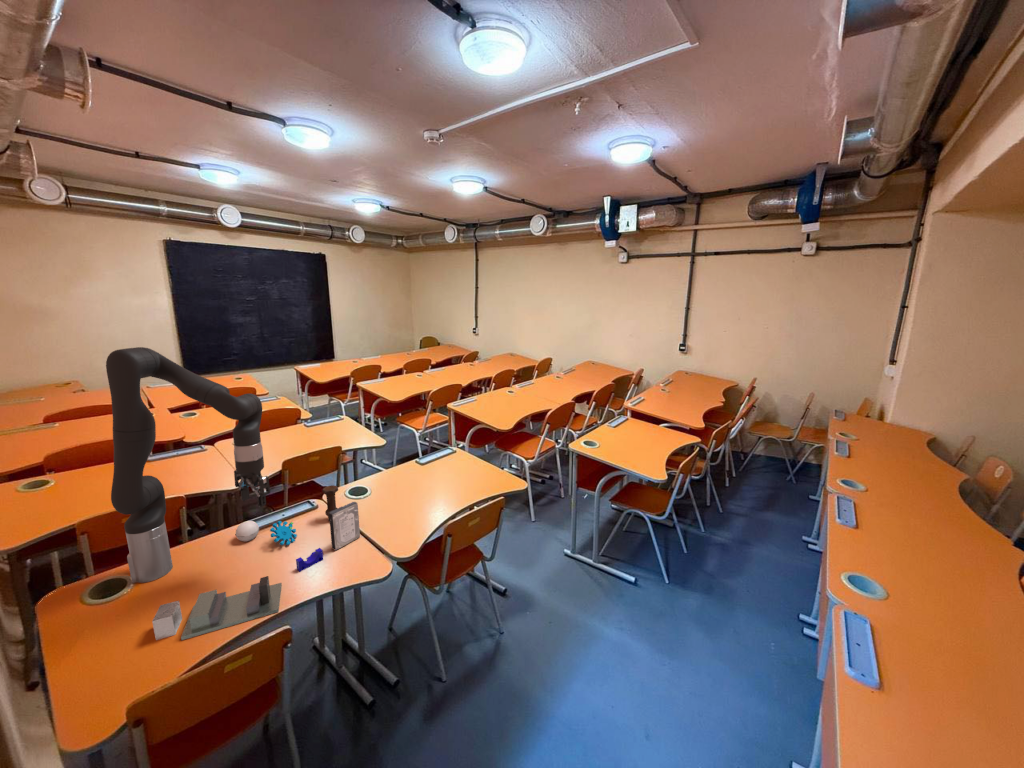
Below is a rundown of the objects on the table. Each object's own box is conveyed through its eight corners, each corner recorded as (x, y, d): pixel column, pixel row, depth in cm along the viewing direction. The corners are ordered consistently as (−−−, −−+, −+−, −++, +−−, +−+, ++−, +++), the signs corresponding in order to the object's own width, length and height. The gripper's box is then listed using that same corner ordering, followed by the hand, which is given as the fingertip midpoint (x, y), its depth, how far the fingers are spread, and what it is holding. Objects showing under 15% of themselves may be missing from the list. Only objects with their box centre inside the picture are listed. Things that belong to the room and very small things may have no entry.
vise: (181, 640, 100) (178, 624, 99) (194, 608, 110) (191, 593, 109) (278, 612, 110) (276, 597, 109) (281, 585, 120) (280, 571, 119)
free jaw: (247, 615, 107) (244, 596, 106) (252, 591, 116) (250, 574, 114) (267, 609, 109) (265, 591, 108) (271, 586, 118) (269, 569, 117)
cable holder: (318, 556, 135) (317, 546, 134) (323, 560, 133) (322, 550, 132) (294, 568, 128) (293, 557, 128) (299, 572, 126) (298, 561, 126)
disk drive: (335, 551, 137) (332, 514, 134) (331, 548, 139) (328, 511, 136) (360, 537, 146) (358, 502, 143) (356, 535, 147) (354, 500, 144)
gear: (287, 548, 137) (266, 529, 135) (276, 558, 138) (256, 539, 136) (304, 530, 148) (285, 513, 146) (294, 539, 148) (275, 522, 147)
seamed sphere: (232, 541, 142) (230, 523, 140) (254, 532, 148) (252, 514, 147) (245, 550, 137) (243, 532, 135) (267, 540, 143) (265, 522, 141)
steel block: (155, 640, 100) (152, 621, 99) (163, 623, 105) (160, 605, 104) (175, 634, 102) (171, 615, 100) (182, 618, 107) (179, 600, 106)
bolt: (342, 521, 156) (339, 488, 153) (330, 526, 152) (327, 492, 149) (335, 516, 160) (332, 483, 157) (323, 521, 156) (320, 488, 153)
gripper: (222, 456, 120) (228, 502, 123) (251, 464, 114) (256, 513, 118) (247, 448, 127) (251, 493, 130) (275, 456, 121) (279, 502, 124)
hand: (253, 502), depth 124 cm, fingers open, 8 cm apart
